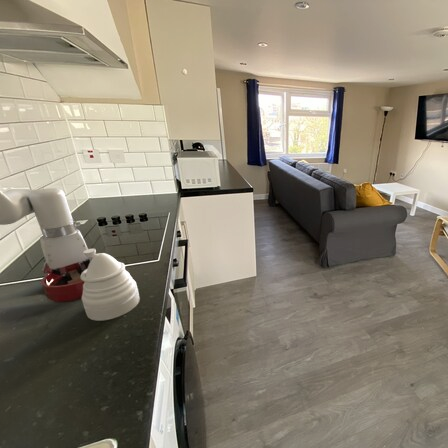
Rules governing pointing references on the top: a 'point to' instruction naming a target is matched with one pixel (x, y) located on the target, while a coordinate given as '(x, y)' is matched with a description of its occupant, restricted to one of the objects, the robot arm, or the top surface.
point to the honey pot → (107, 287)
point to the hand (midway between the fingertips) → (76, 281)
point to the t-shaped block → (74, 277)
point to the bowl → (62, 286)
